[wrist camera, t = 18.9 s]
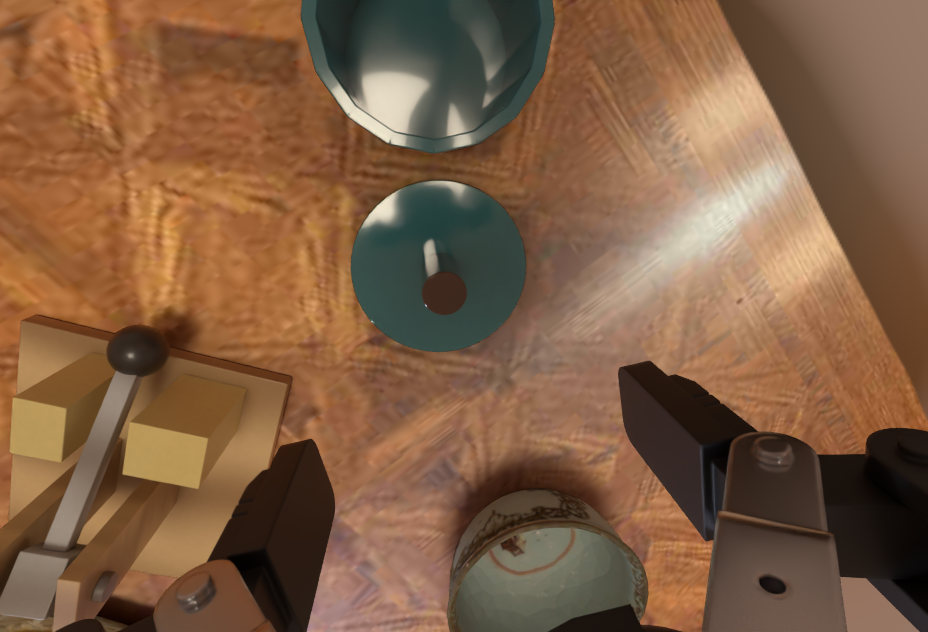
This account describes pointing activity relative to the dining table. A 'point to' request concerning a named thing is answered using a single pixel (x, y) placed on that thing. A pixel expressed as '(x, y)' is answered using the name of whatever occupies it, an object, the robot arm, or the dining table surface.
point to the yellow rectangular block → (60, 409)
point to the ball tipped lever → (84, 476)
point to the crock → (429, 65)
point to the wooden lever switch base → (131, 498)
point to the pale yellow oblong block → (183, 431)
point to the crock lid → (438, 265)
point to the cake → (46, 624)
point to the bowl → (540, 566)
